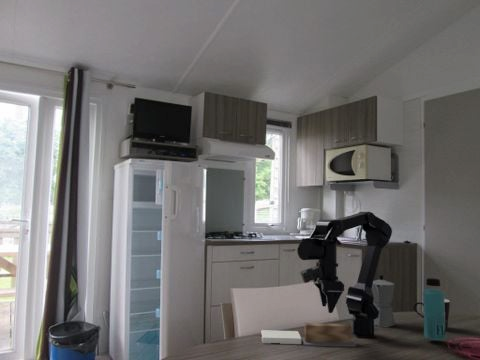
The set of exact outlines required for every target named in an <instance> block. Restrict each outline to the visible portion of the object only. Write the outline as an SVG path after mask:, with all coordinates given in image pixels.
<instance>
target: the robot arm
mask: <svg viewBox="0 0 480 360" xmlns="http://www.w3.org/2000/svg"><path fill="white" fill-rule="evenodd" d="M357 227H361V229H362V230H363V231H364V232H365V236H364V237H365V240H366V241H365V242H366V244H367V245H366V249H365V252H364V255H363V258H362V259H363V260H362V263H361V267H360V270H359V274H358V278H357V281H356V284H355V285H354V286H349V287H348V289H347V292H346V293H347V294H346V296H345V299H346V300H345V304H346V307H347V310H348V314H349V315H352V319H351V321H350V322H351V325H350V326H351V334H353V335H354V336H355V337H356V338H373V339H374V338H377V335H376V334H375V326H374V319H376V318H378V315H379V311H378V309H377V308H376V307H375V305H374V304H373V301H374V296H373V292H372V284H373V281H375V276H376V273H377V270H378V266H379V261H380V257H381V255H382V249H383V248H384V247H386V245H388V243H389V242H390V239H391V237H392V234H393V228H392V227H391V225H390V224H389V223H387V222H386V221H385V220H384V219H381V218H380V217H378V216H376V214H374V212H371V211H360V212H357V213H353V214H351V215H348V216H344V217H343V216H342V217H340V218H336V219H335V218H334V219H330V218H329V219H319V220H318V221H316V224H315V227H314V228H313V230H312V232H311V234H310V236H309V237H302V238H301V242H300V243H299V245H298V247H297V251H296V252H297V255H298V257H299V259H300V260H302V261H316V263H315V266H313V267H309V268H305V269H302V270H301V271H299V273H300V276H301V280H302V282H303V283H305V284H307V283H310V282H311V281H312V282H313V285H314V286H315V287H316V288H317V289H318V292H319V296H320V300H321V301H320V302H321V306H322V307H326V306H327V311H328V313H329V314H333V313H334V310H335V307H336V306H337V304H338V303H339V300H340V298H341V296H342V295H343V292H345V284H344V282H342V280H340V279H339V276H337V275H338V271H337V268H338V267H339V263H337V262H338V261H337V260H338V259H337V256H338V253H337V248H338V247H337V246H341V245H342V244H343V243H342V242H341V241H340V239H338V237H340V236H342V235H344V232H345V231H348V230H350V229H353V228H357ZM317 260H318V261H317Z"/></svg>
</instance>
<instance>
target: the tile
mask: <svg viewBox="0 0 480 360" xmlns="http://www.w3.org/2000/svg"><path fill="white" fill-rule="evenodd" d="M260 334H261V335H262V337H261V343H262V344H271V343H280V345H302V341H301V334H300V333H299V331H298V330H274V329H273V330H271V329H270V330H269V329H268V330H267V329H261V332H260ZM261 335H260V336H261Z"/></svg>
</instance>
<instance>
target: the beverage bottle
mask: <svg viewBox="0 0 480 360" xmlns="http://www.w3.org/2000/svg"><path fill="white" fill-rule="evenodd" d="M425 285H426V286H429V287H428V288H426V289H424V290H423V292H422V297H423V304H424V306H423V314H422V316H424V318H423V335H424V338H426V339H429V340H433V341H445V340H446V338H447V335H446V331H447V330H446V325H445V304H444V299H445V292H444V291H443V290H441V289H439V288H430V286H431V287H440V286H441V280H440V279H439V278H434V277H433V278H432V277H431V278H430V277H428V278H426V282H425Z"/></svg>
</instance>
